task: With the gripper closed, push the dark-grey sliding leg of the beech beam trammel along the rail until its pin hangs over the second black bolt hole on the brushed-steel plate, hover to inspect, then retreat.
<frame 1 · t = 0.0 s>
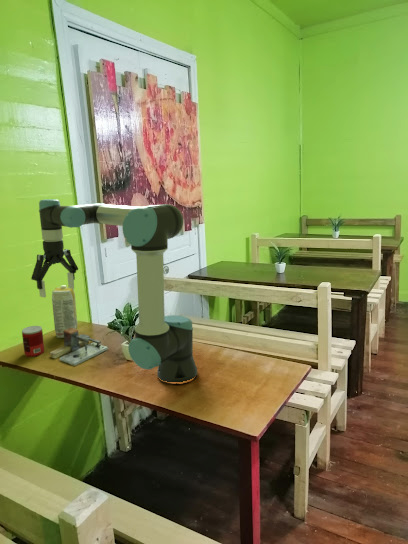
hand: (57, 292, 161), 28 cm above the table, fingers open, 13 cm apart
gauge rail: (70, 349, 174), on the table
bolt plate: (84, 354, 169), on the table
slide leg: (77, 341, 171), point 5 cm above the table, slide at 0.0 cm
canned food: (34, 353, 171), on the table
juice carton: (67, 335, 189), on the table
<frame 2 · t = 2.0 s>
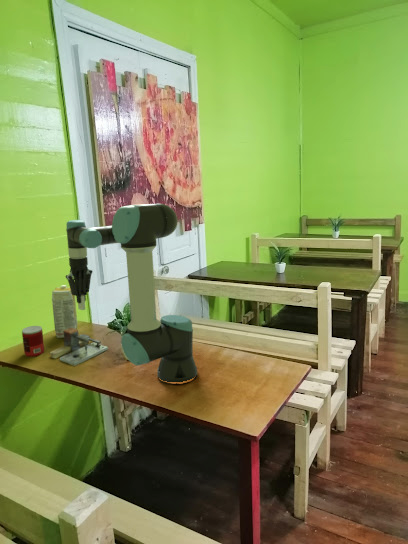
hand: (81, 309, 177), 16 cm above the table, fingers closed
nothing on the table moved.
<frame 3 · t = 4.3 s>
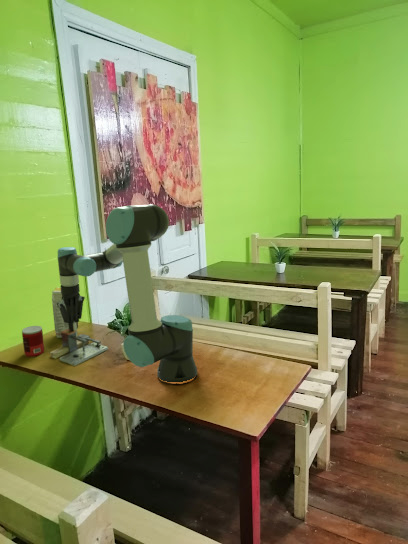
hand: (74, 336, 175), 5 cm above the table, fingers closed
slide leg: (75, 342, 170), point 5 cm above the table, slide at 1.2 cm, touching gripper
everything else where it was.
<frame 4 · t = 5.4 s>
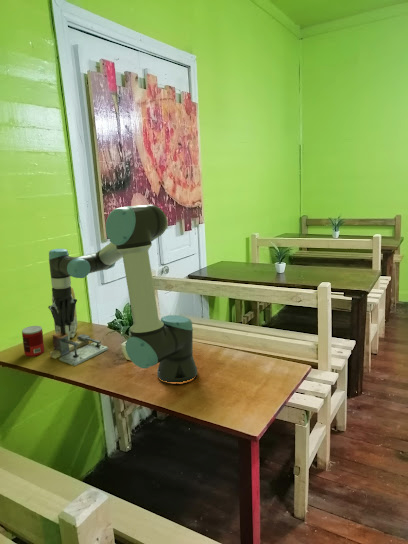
hand: (66, 339, 171), 5 cm above the table, fingers closed
slide leg: (67, 345, 167), point 4 cm above the table, slide at 5.4 cm, touching gripper
everything else where it was.
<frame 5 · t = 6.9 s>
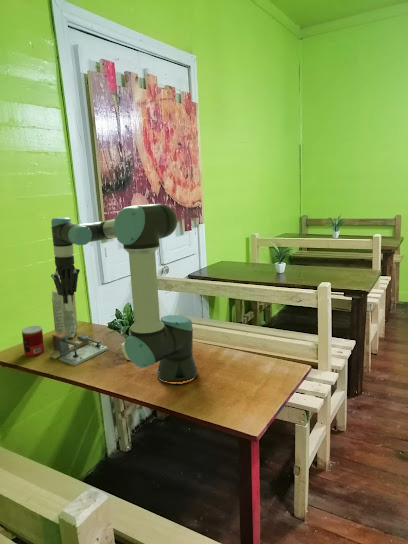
hand: (68, 309, 170), 18 cm above the table, fingers closed
slide leg: (67, 345, 167), point 4 cm above the table, slide at 5.4 cm
everything else where it was.
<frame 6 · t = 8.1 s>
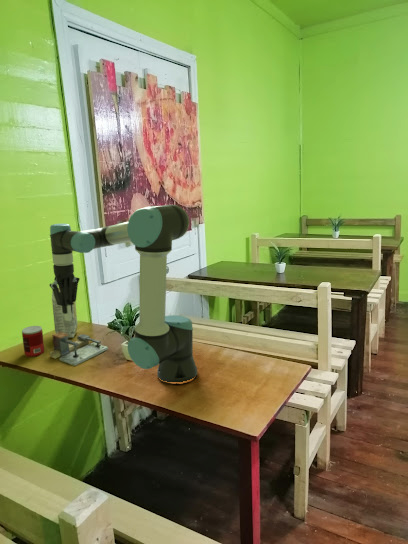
hand: (68, 320, 163), 16 cm above the table, fingers closed
nothing on the table moved.
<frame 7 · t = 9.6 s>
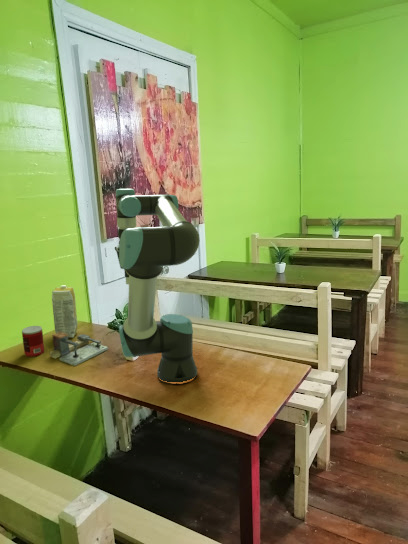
hand: (129, 284, 168), 29 cm above the table, fingers closed
nothing on the table moved.
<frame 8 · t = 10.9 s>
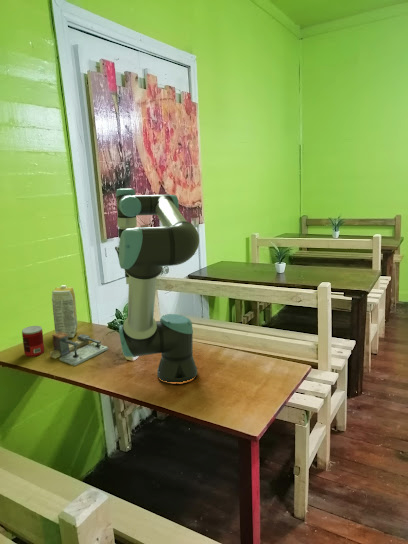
hand: (129, 283, 168), 29 cm above the table, fingers closed
nothing on the table moved.
at the end: slide leg slide at 5.4 cm; slide leg touching nothing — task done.
